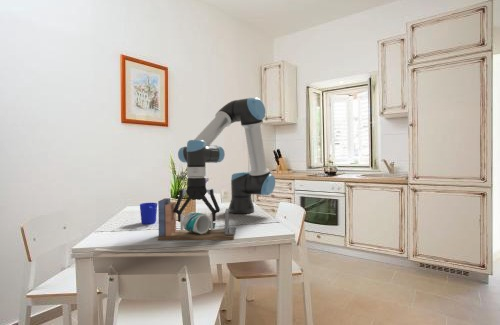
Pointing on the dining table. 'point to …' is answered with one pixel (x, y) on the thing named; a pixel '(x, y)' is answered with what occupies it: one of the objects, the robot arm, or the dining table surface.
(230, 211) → the robot arm
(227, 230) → the bookend
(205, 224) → the mug
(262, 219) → the dining table surface
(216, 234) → the shelf
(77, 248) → the dining table surface
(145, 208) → the mug
